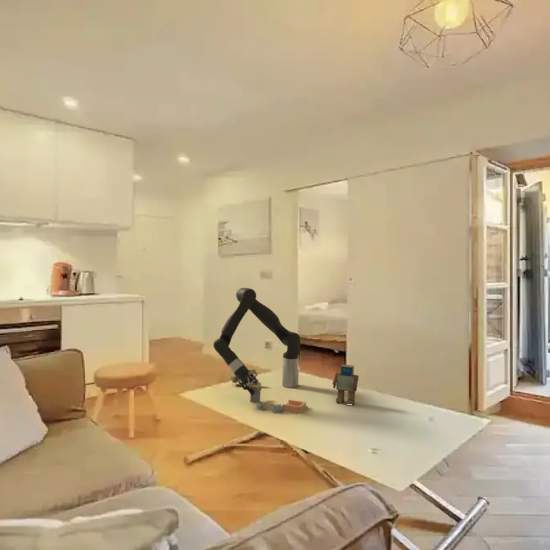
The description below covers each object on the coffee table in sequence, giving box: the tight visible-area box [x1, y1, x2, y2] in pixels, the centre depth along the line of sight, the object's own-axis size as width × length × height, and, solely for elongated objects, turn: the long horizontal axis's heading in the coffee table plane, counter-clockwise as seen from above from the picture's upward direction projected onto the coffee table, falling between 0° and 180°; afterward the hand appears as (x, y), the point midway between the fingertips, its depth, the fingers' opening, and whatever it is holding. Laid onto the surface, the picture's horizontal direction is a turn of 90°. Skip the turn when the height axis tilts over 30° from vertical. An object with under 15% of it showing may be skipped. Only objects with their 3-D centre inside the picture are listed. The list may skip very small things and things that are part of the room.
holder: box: [281, 399, 308, 414], centre depth 218 cm, size 11×11×3 cm
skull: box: [230, 368, 258, 387], centre depth 260 cm, size 10×16×10 cm, turn 88°
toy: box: [332, 364, 359, 404], centre depth 230 cm, size 13×10×20 cm
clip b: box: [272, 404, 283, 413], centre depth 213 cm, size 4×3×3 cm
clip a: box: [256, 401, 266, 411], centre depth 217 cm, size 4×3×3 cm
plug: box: [249, 379, 262, 404], centre depth 228 cm, size 4×4×12 cm
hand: (256, 392), depth 228 cm, fingers open, 8 cm apart
